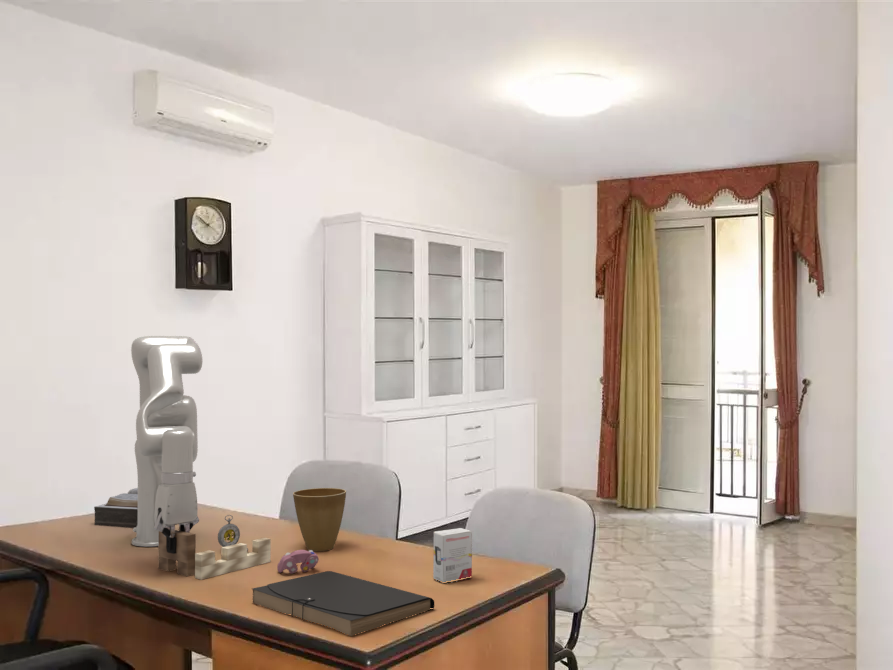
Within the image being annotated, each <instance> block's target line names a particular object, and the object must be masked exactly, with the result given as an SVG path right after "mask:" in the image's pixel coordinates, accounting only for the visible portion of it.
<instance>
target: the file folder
mask: <svg viewBox="0 0 893 670" xmlns="http://www.w3.org/2000/svg"><path fill="white" fill-rule="evenodd" d="M251 590H252V599H251V600H252V604H253V603H254V604H255V605H258V606H260V605H261V607H263V606H264V608H266V607H267V608H266V609H269V608H270V609H269V610H272V609H273V611H275V610H276V611H275V612H277V611H279V612H278V613H280V612H282V613H281V614H283V613H286V614H285V615H287V614H291V615H292V616H291V615H290V616H291V618H292V617H295V616H297V617H296V618H298V617H300V618H299V619H301V618H302V619H301V621H302V620H303V619H305V620H303V621H306V620H308V621H307V622H309V621H311V622H310V623H312V622H315V623H314V624H316V623H319V624H322V625H321V626H323V625H325V626H324V627H326V626H328V627H327V628H329V627H331V628H330V629H332V628H334V629H336V630H335V631H337V630H338V631H337V632H339V631H340V632H339V633H341V632H342V634H343V633H345V634H344V635H347V634H348V635H347V636H349V637H350V636H351V637H353V635H355V634H358V633H361V632H364V631H367V632H369V631H368V630H370V631H372V630H371V629H374V628H377V627H380V626H382V625H384V624H387V625H389V624H388V623H390V622H393V621H397V620H400V619H403V618H406V617H409V616H412V615H415V614H418V613H421V612H424V611H427V610H430V608H433V609H434V608H435V599H433V598H432V597H429V596H426V595H422V594H417V593H414V592H411V591H407V590H403V589H399V588H396V587H392V586H390V585H389V586H388V585H385V584H381V583H376V582H373V581H369V580H367V579H362V578H357V577H354V576H351V575H347V574H344V573H339V572H336V571H334V570H325V571H322V572H317V573H312V574H308V575H307V574H306V575H304V576H303V575H302V576H299V577H294V578H290V579H285V580H282V581H276V582H272V583H269V584H266V585H263V586H257V587H254V588H253V587H252V588H251ZM430 611H431V610H430ZM427 612H428V611H427ZM424 613H425V612H424ZM421 614H422V613H421ZM293 615H294V616H293ZM418 615H419V614H418ZM415 616H416V615H415ZM412 617H413V616H412ZM409 618H410V617H409ZM406 619H407V618H406ZM403 620H404V619H403ZM400 621H401V620H400ZM397 622H398V621H397ZM393 623H394V622H393ZM319 624H318V625H319ZM390 624H391V623H390ZM382 627H383V626H382ZM380 628H381V627H380ZM334 629H333V630H334ZM377 629H378V628H377ZM374 630H375V629H374ZM364 633H365V632H364ZM361 634H362V633H361ZM358 635H359V634H358ZM355 636H356V635H355Z"/></svg>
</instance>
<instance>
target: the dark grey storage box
mask: <svg viewBox="0 0 893 670" xmlns="http://www.w3.org/2000/svg"><path fill="white" fill-rule="evenodd" d="M93 509H94V510H93V511H94V526H101V527H102V526H103V527H114V528H116V527H117V528H125V529H126V528H127V529H133V528H135V527H136V528H137V526H138V487H135V488H134V487H133V488H130V490H128V492H127V493H125V492H124V493H123V492H122V493H120V494H117V495H115V496H110V497H109V498H108V500H107V502H106V503H104V504H100V505H97V506H94V507H93Z"/></svg>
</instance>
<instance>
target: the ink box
mask: <svg viewBox="0 0 893 670" xmlns="http://www.w3.org/2000/svg"><path fill="white" fill-rule="evenodd" d="M472 570H473V532H472V531H471V530H469V529H465V528H462V527H458V528H452V529H444V530H436V531H433V570H432V571H433V573H432V574H433V576H432V577H433V578H434V579H436V580H435V581H437V580H439V581H442V582H446V581H451V580H456V579H461V578H466V577H470V576H473V575H472V574H473V571H472ZM433 578H432V579H433ZM434 579H433V580H434ZM439 581H438V582H439Z"/></svg>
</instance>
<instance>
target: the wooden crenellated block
mask: <svg viewBox="0 0 893 670" xmlns="http://www.w3.org/2000/svg"><path fill="white" fill-rule="evenodd" d="M271 541H272V540H271V538H269V537H268V538H267V537H263V538H262V537H261V538H257V539H254V540H253V539H252V540H251V542H252V543H251V544H252V545H251V546H252V547H251V548H252V549H251V552H248V551H247V548H248V544H247V543H242V542H240V543H237V544H235V545H230V546H226V547H222V546H221V548H220V550H221V552H220V553H221V558H220V559H218V560H216V551H213V550H210V549H209V550H208V549H207V550H205V551H200V552H196V553H195V575H194V578H195V579H198V580H205V579H209V578H213V577H217V576H220V575H224V574H229V573H233V572H236V571H241V570H244V569H248V568H252V567H256V566H259V565H260V566H261V565H262V564H263V565H264V564H267V563H271V548H272V547H271V546H272V545H271Z"/></svg>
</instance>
